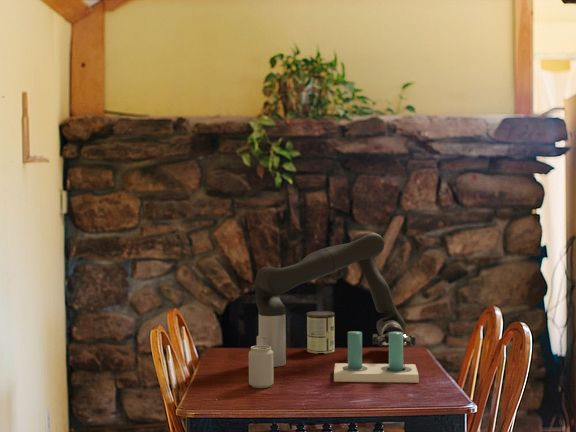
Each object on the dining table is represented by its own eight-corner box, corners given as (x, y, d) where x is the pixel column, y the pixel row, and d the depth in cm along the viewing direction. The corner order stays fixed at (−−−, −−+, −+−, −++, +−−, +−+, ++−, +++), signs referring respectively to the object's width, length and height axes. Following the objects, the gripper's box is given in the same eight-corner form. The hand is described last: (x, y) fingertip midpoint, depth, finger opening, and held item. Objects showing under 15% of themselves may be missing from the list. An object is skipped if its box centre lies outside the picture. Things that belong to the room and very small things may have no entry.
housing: (418, 382, 237) (418, 374, 237) (333, 381, 239) (333, 372, 239) (415, 371, 251) (415, 363, 251) (335, 370, 253) (335, 362, 253)
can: (277, 383, 237) (276, 345, 236) (268, 389, 230) (268, 349, 229) (254, 382, 239) (253, 343, 239) (245, 387, 232) (244, 348, 232)
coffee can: (307, 347, 291) (307, 310, 290) (335, 348, 290) (335, 310, 289) (305, 353, 280) (305, 315, 280) (334, 354, 279) (333, 315, 279)
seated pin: (352, 378, 242) (352, 334, 242) (345, 375, 247) (345, 332, 246) (364, 377, 244) (364, 333, 244) (357, 374, 248) (357, 330, 248)
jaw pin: (393, 379, 241) (393, 334, 241) (386, 376, 245) (385, 332, 245) (406, 377, 243) (405, 333, 243) (398, 374, 247) (397, 331, 247)
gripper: (372, 323, 270) (372, 332, 254) (413, 323, 269) (416, 332, 252) (372, 344, 270) (373, 354, 254) (413, 345, 269) (416, 355, 253)
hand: (394, 343), depth 253 cm, fingers open, 8 cm apart
